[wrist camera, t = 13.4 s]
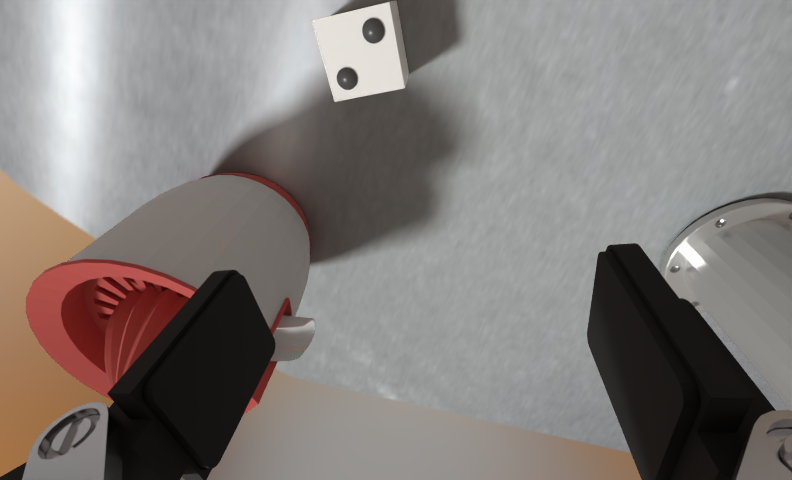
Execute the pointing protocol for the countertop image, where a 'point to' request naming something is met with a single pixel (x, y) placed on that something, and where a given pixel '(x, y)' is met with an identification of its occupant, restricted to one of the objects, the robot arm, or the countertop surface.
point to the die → (363, 51)
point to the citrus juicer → (175, 276)
